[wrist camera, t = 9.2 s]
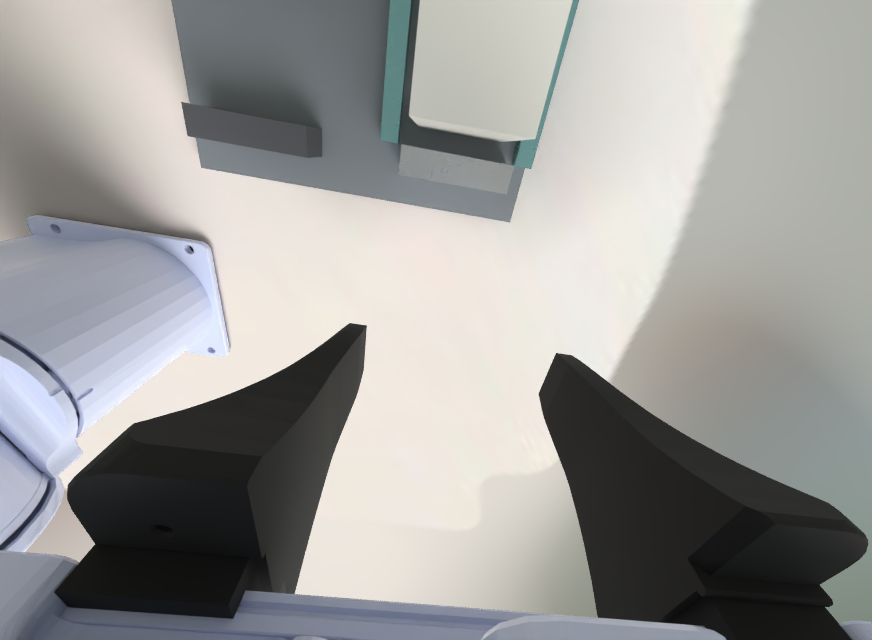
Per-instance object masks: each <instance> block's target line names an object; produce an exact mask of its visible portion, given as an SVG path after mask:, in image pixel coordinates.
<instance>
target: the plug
mask: <svg viewBox="0 0 872 640" xmlns="http://www.w3.org/2000/svg"><path fill="white" fill-rule="evenodd" d="M572 1H573V0H420V5H419V15H418V25H417V36H416V46H415V57H414V67H413V77H412V88H411V98H410V108H409V116H410V117H411V119H412V120H413V121H414V122H415V123H416V124H417V125H418V126H419V127H422V128H427V129H433V130H438V131H444V132H449V133H455V134H460V135H466V136H471V137H476V138H482V139H487V140H493V141H498V142H508V141H519V140H531V139H535V138H536V135H537V131H538V127H539V124H540V120H541V116H542V112H543V109H544V105H545V101H546V98H547V94H548V90H549V87H550V83H551V79H552V75H553V72H554V68H555V64H556V61H557V57H558V53H559V49H560V46H561V42H562V38H563V35H564V31H565V27H566V24H567V20H568V16H569V12H570V9H571V5H572Z"/></svg>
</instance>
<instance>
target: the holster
mask: <svg viewBox="0 0 872 640" xmlns="http://www.w3.org/2000/svg"><path fill="white" fill-rule="evenodd" d="M181 103H182V108H183V113H184V119H185V124H186V129H187V135H188V136H191V137H196V138H202V139H207V140H212V141H218V142H223V143H229V144H234V145H240V146H245V147H251V148H256V149H261V150H267V151H272V152H278V153H283V154H289V155H294V156H299V157H305V158H313V157H322V129H321V128H316V127H311V126H305V125H300V124H295V123H290V122H285V121H279V120H274V119H269V118H264V117H259V116H253V115H248V114H243V113H238V112H232V111H227V110H222V109H217V108H211V107H206V106H200V105H194V104H189V103H183V102H181Z"/></svg>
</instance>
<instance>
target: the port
mask: <svg viewBox="0 0 872 640" xmlns="http://www.w3.org/2000/svg"><path fill="white" fill-rule="evenodd" d="M578 2H579V0H573V1H572V5H571V9H570V12H569V16H568V20H567V24H566V27H565V31H564V35H563V38H562V42H561V46H560V49H559V53H558V57H557V61H556V64H555V68H554V72H553V75H552V79H551V83H550V87H549V90H548V94H547V98H546V101H545V105H544V109H543V112H542V116H541V120H540V124H539V127H538V131H537V135H536V138H535V139H531V140H519V141H517V145H516V149H515V153H514V156H513V160H512V164H511V165H508V164H504V163H499V162H493V161H488V160H483V159H478V158H473V157H467V156H462V155H457V154H452V153H446V152H441V151H436V150H431V149H426V148H420V147H415V146H410V145H404V144H401V154H400V164H399V174H398V175H403V176H408V177H414V178H419V179H425V180H430V181H436V182H441V183H446V184H452V185H457V186H463V187H468V188H474V189H479V190H485V191H490V192H495V193H501V194H506V195H507V192H508V188H509V184H510V180H511V176H512V172H513V168H514V166H519V167H524V168H529V169H531V167H532V164H533V160H534V157H535V153H536V150H537V146H538V143H539V139H540V136H541V132H542V129H543V125H544V122H545V118H546V114H547V111H548V107H549V104H550V100H551V97H552V93H553V90H554V86H555V83H556V79H557V76H558V72H559V69H560V65H561V62H562V58H563V55H564V51H565V48H566V44H567V41H568V37H569V34H570V30H571V27H572V23H573V20H574V16H575V13H576V9H577V6H578ZM412 9H413V0H390V10H389V24H388V38H387V53H386V67H385V81H384V95H383V109H382V123H381V138H380V140H383V141H388V142H393V143H400V133H401V123H402V112H403V102H404V92H405V81H406V71H407V61H408V50H409V40H410V30H411V20H412ZM513 165H514V166H513Z"/></svg>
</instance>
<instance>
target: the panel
mask: <svg viewBox="0 0 872 640" xmlns="http://www.w3.org/2000/svg"><path fill="white" fill-rule="evenodd" d="M419 5H420V0H413V9H412V20H411V30H410V40H409V50H408V61H407V71H406V81H405V92H404V102H403V112H402V123H401V133H400V143H393V142H388V141H383V140H380V138H381V123H382V109H383V95H384V81H385V67H386V53H387V38H388V24H389V10H390V0H172V6H173V11H174V17H175V23H176V28H177V34H178V39H179V45H180V51H181V56H182V62H183V68H184V73H185V79H186V84H187V90H188V96H189V101H190V104H194V105H200V106H206V107H211V108H217V109H222V110H227V111H232V112H238V113H243V114H248V115H253V116H259V117H264V118H269V119H274V120H279V121H285V122H290V123H295V124H300V125H305V126H311V127H316V128H321V129H322V157H313V158H305V157H299V156H294V155H289V154H283V153H278V152H272V151H267V150H261V149H256V148H251V147H245V146H240V145H234V144H229V143H223V142H218V141H212V140H207V139H202V138H196V141H197V146H198V152H199V158H200V163H201V168H206V169H212V170H217V171H223V172H229V173H234V174H240V175H246V176H251V177H257V178H263V179H268V180H274V181H280V182H285V183H291V184H297V185H302V186H308V187H314V188H319V189H325V190H331V191H336V192H342V193H348V194H353V195H359V196H364V197H370V198H376V199H381V200H387V201H393V202H398V203H404V204H410V205H415V206H421V207H427V208H432V209H438V210H444V211H449V212H455V213H461V214H466V215H472V216H478V217H483V218H489V219H495V220H500V221H506V222H510V220H511V216H512V212H513V209H514V205H515V202H516V198H517V194H518V191H519V187H520V183H521V180H522V176H523V173H524V169H525V168H524V167H519V166H514V165H513V166H514V168H513V172H512V176H511V180H510V184H509V188H508V192H507V195H506V194H501V193H495V192H490V191H485V190H479V189H474V188H468V187H463V186H457V185H452V184H446V183H441V182H436V181H430V180H425V179H419V178H414V177H408V176H403V175H398V174H399V164H400V154H401V144H404V145H410V146H415V147H420V148H426V149H431V150H436V151H441V152H446V153H452V154H457V155H462V156H467V157H473V158H478V159H483V160H488V161H493V162H499V163H504V164H508V165H511V164H512V160H513V156H514V153H515V149H516V145H517V141H508V142H498V141H493V140H487V139H482V138H476V137H471V136H466V135H460V134H455V133H449V132H444V131H438V130H433V129H427V128H422V127H419V126H418V125H417V124H416V123H415V122H414V121H413V120H412V119H411V117H410V116H409V108H410V98H411V88H412V77H413V67H414V57H415V46H416V36H417V25H418V15H419Z"/></svg>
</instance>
